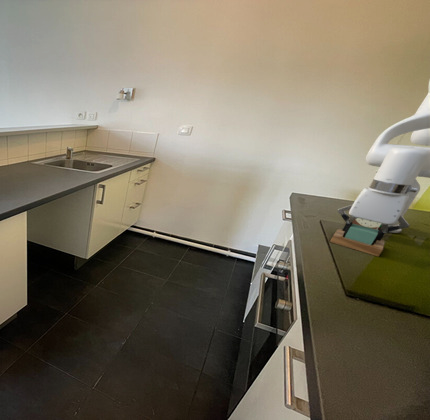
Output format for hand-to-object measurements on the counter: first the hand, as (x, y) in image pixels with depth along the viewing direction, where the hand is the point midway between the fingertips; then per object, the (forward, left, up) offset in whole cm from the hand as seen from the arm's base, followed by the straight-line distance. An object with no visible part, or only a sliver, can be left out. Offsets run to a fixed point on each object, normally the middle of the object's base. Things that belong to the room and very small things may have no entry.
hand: (359, 236), depth 84 cm
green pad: (0, 0, -1) cm, 1 cm away
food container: (-22, +2, -3) cm, 22 cm away
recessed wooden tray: (0, 0, -3) cm, 3 cm away
